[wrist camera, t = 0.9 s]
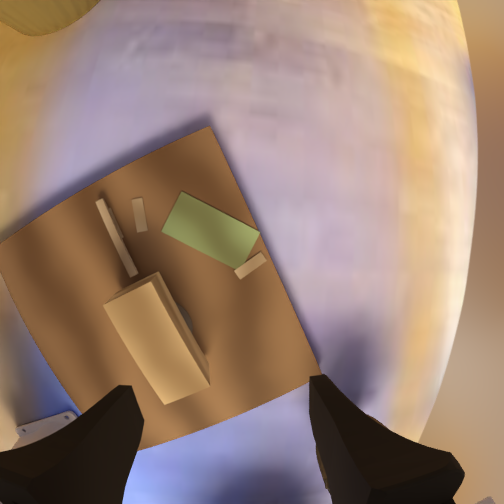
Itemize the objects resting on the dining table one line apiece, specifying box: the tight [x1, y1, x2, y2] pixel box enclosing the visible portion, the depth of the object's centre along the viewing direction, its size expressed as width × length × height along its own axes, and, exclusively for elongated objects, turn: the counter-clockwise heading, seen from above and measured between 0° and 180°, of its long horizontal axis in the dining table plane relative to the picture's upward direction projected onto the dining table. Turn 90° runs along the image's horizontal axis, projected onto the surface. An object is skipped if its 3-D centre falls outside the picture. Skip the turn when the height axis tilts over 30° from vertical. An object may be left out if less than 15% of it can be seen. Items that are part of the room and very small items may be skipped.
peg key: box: [96, 198, 210, 405], centre depth 21 cm, size 4×14×4 cm, turn 25°
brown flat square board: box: [0, 126, 322, 451], centre depth 24 cm, size 21×22×1 cm
